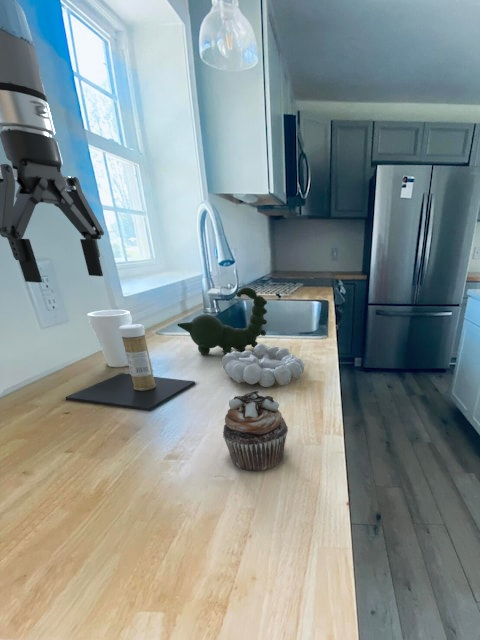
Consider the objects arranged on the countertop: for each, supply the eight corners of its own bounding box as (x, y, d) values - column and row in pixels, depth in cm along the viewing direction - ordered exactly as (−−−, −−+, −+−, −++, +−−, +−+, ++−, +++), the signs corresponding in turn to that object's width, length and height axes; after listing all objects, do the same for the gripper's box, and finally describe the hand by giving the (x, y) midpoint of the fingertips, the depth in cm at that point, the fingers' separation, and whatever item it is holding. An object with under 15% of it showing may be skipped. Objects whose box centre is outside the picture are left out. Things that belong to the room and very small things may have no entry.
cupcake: (212, 461, 55) (203, 400, 51) (256, 436, 63) (252, 381, 58) (259, 482, 51) (253, 417, 46) (301, 453, 58) (300, 394, 53)
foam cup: (93, 366, 95) (78, 314, 89) (121, 357, 102) (109, 308, 96) (122, 370, 92) (108, 317, 86) (148, 360, 100) (138, 311, 94)
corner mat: (66, 399, 75) (65, 396, 75) (122, 375, 89) (121, 373, 89) (149, 411, 71) (149, 408, 71) (195, 383, 85) (195, 381, 84)
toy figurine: (259, 349, 118) (177, 350, 107) (260, 287, 110) (172, 281, 99) (269, 357, 111) (181, 359, 100) (271, 290, 103) (176, 284, 92)
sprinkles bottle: (157, 383, 83) (145, 322, 76) (154, 390, 79) (141, 327, 72) (135, 385, 81) (121, 323, 75) (131, 392, 78) (115, 328, 71)
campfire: (324, 373, 93) (324, 350, 90) (269, 398, 77) (268, 372, 75) (260, 358, 104) (258, 337, 101) (200, 378, 88) (197, 354, 85)
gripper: (-40, 108, 46) (19, 286, 56) (107, 151, 68) (131, 274, 78) (-85, 110, 48) (-19, 283, 58) (73, 151, 69) (101, 272, 79)
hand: (67, 278), depth 68 cm, fingers open, 13 cm apart
